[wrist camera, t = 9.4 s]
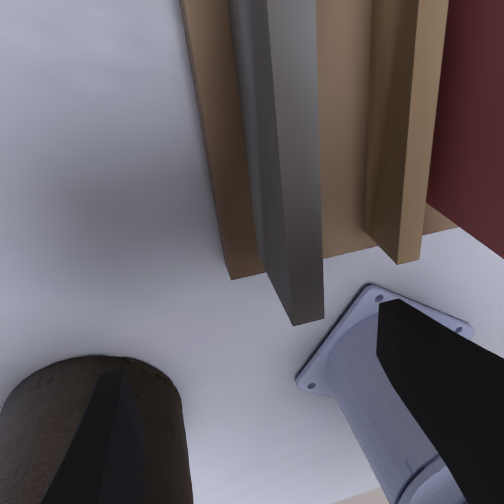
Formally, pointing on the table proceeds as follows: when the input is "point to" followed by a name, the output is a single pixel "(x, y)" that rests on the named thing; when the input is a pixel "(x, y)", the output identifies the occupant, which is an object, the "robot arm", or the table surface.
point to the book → (471, 123)
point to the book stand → (317, 132)
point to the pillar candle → (66, 422)
